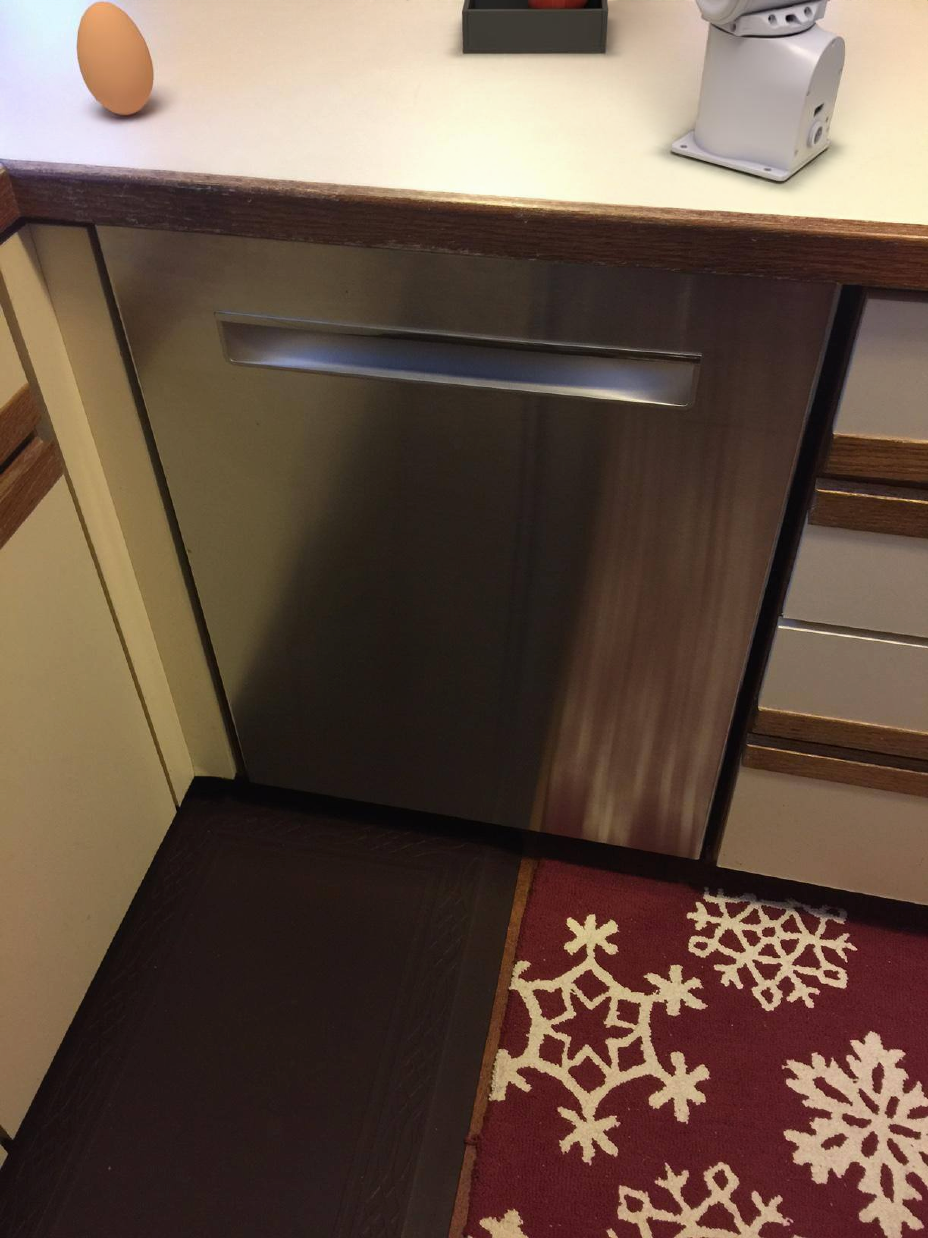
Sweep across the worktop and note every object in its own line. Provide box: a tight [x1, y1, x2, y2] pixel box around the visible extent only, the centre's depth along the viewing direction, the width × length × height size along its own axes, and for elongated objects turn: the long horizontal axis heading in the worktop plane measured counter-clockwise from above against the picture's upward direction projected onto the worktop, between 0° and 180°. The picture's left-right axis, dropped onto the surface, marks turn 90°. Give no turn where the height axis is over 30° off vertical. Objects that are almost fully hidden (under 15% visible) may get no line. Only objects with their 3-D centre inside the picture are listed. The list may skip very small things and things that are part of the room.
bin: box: [461, 0, 609, 54], centre depth 96 cm, size 13×8×4 cm, turn 86°
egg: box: [76, 0, 155, 116], centre depth 84 cm, size 6×6×8 cm
